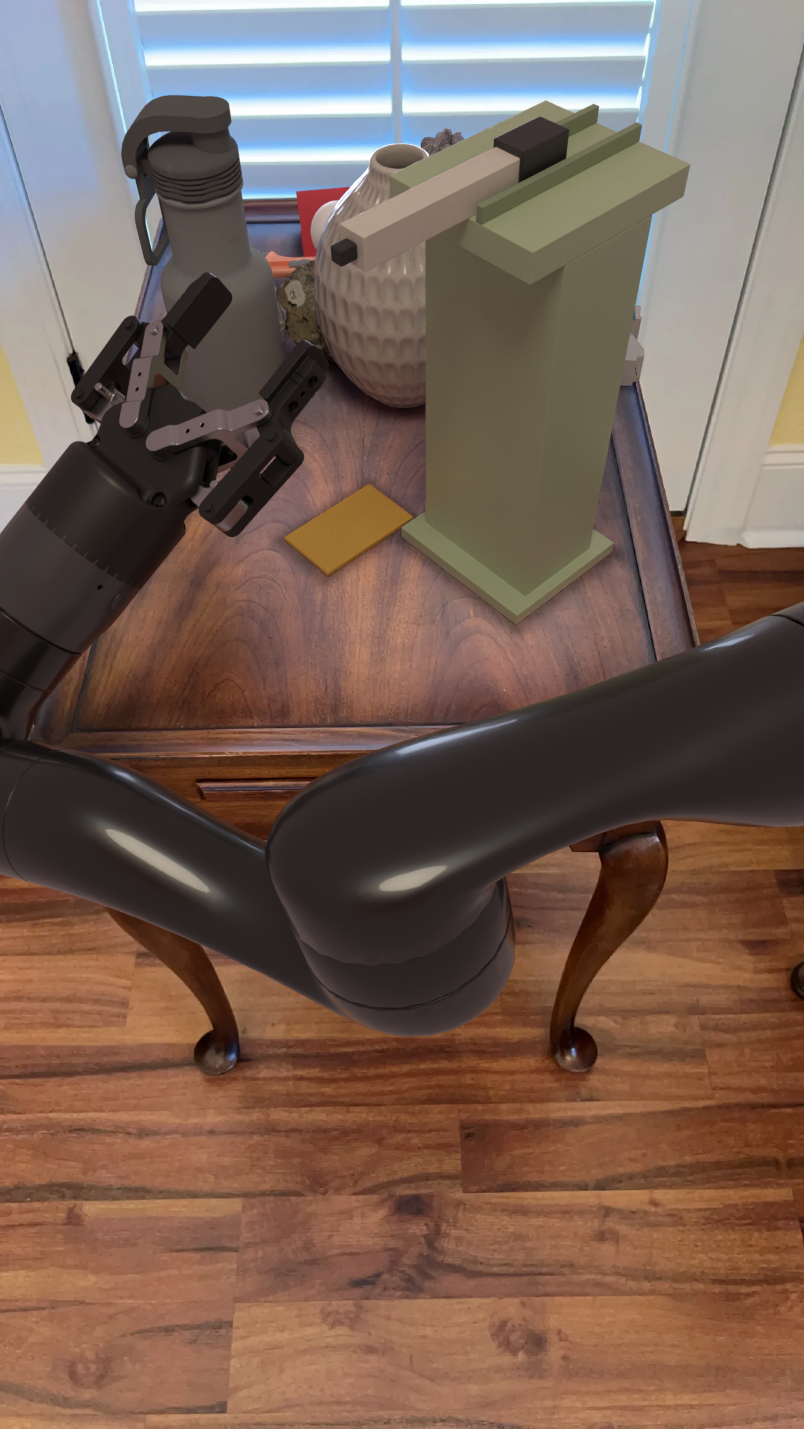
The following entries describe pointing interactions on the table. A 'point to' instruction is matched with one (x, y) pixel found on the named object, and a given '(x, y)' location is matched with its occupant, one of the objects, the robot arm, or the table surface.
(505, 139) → the marker
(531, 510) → the green railed pedestal
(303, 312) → the rock
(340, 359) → the vase
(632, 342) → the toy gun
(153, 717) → the table surface
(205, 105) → the water bottle
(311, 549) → the mat
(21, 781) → the robot arm
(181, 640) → the table surface
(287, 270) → the utility knife
